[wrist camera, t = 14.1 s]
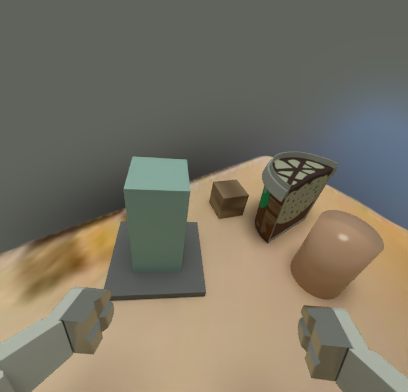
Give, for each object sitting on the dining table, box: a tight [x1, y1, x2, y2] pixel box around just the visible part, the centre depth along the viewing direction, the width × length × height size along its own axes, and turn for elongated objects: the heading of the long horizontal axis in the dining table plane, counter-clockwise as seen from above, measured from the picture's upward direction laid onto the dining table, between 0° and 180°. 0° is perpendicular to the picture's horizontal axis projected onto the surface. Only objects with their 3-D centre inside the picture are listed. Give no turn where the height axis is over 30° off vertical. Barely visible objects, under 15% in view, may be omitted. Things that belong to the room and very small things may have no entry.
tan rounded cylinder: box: [291, 210, 384, 299], centre depth 24 cm, size 6×6×8 cm
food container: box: [255, 152, 338, 243], centre depth 31 cm, size 12×6×10 cm, turn 127°
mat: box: [104, 221, 206, 300], centre depth 26 cm, size 10×10×1 cm
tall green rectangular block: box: [124, 157, 190, 273], centre depth 22 cm, size 5×5×11 cm
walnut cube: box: [209, 180, 249, 219], centre depth 34 cm, size 4×4×4 cm
